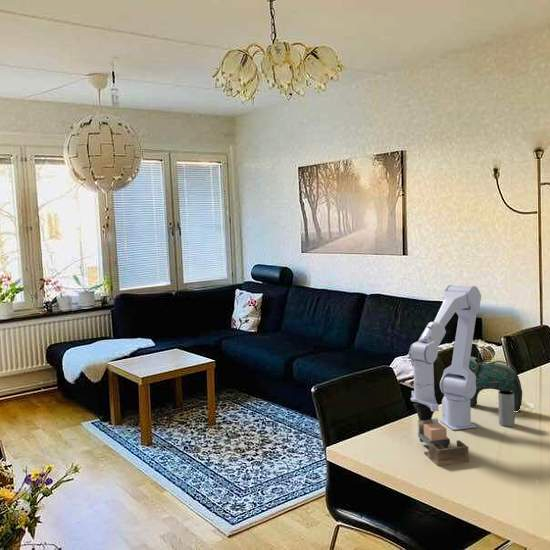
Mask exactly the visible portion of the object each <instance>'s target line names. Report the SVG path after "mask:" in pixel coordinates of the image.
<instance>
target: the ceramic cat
mask: <svg viewBox="0 0 550 550" xmlns="http://www.w3.org/2000/svg"><path fill="white" fill-rule="evenodd" d="M481 352H485V353H487V354H488V355H490V352H489V351H488V350H486V349H481V350H479V351H478V354H477V355H478V358H477V357H475V356H470V362H469V369H470V370H471V371H472V372H473V373H474V374H475V376H476V392H475V395H474V396H473V397H472V398H471V399H470V406H472V407H471V408H474V407H473V406H475V407H476V406H477V405H478V397H479V396H478V395H479V394H480V392H481V391H483V390H497V391H498V392H499V391H501V390H509V391H512V392H514V411H518V410H519V409H520V406H521V407H522V403H523V402H522V401H523V389H522V383H521V380H520V377H519V375H518V372H517V370H516V368H515V366H513V364H512V363H509V362H506V361H503V360H495V361H490V362H484V361H482V360H481V359H480V353H481ZM502 363H503V364H502ZM476 404H477V405H476Z"/></svg>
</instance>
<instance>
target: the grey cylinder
mask: <svg viewBox="0 0 550 550" xmlns="http://www.w3.org/2000/svg"><path fill="white" fill-rule="evenodd" d="M497 393H498V397H497V398H498V424H499V425H500V426H502V427H505V428H511V427H514V426H515V420H516V419H515V412H514V392H512V391H509V390H501V391H499V390H498V391H497Z"/></svg>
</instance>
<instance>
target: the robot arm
mask: <svg viewBox="0 0 550 550" xmlns="http://www.w3.org/2000/svg"><path fill="white" fill-rule="evenodd" d="M479 289H480V288H479V287H478V286H476V285H472V286H470V285H469V286H467V285H454V284H448V285H447V286H446V287H445V288H444V290H443V292H442V303H441V305H440V308H439V309H438V312H437V314H436V316H435V318H434V320H433V321H430V322H428V324H427V325H426V327H425V328H424V330H423V331H422V333H421V335H420V337H419V339H418V341H415V342H414V343H412V344H411V345H410V347H409V351H408V357H409V359H410V361H411V366H412V367H413V389H414V390H411V397H410V401H411V402H414V403H413V404H412V406H413V408H414V409H415V411H416V413H417V417H418V420H427V419H433V415H434V413H435V412H439V408H440V407H439V403H437V400H436V396H435V376H434V374H435V373H434V371H435V370H434V368H435V367H434V363H435V361H436V360H437V358H438V356H439V348H440V347H439V346H440V344H441V343H442V340H443V339H444V337H445V335H446V333H447V331H446V326H447V324H448V323H449V321H450V320H451V319H452V317H453V316H454V315H455V313H456V314H457V315H456V316H458V319H457V326H456V333H455V339H454V345H453V353H452V360H451V364H450V365H449V366H448V367H446V368H445V369H444V370H443V373H442V376H441V379H440V381H439V389H440V391H441V393H442V394H443V397H442V399H441V415H442V416H441V417H442V418H440V419H439V421H440V422H441V423H443V424H444V425H445V426H447V428H449V429H450V430H452V431H457V430H465V429H473V428H477V425H476V424H475V423H473V422H472V418H471V417H472V416H471V415H472V414H471V410H472V409H471V407H470V399H471V398H472V397H473V396H474V395H475V392H476V376H475V374H474V373H473V372H472V371H471V370H470V369H469V362H470V357H471V353H472V347H473V339H474V333H475V328H476V327H475V326H476V319H477V314H479V313H480V307H481V301H482V294H481V292H480V290H479ZM462 376H463V377H462Z"/></svg>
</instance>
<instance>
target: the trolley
mask: <svg viewBox="0 0 550 550" xmlns="http://www.w3.org/2000/svg"><path fill="white" fill-rule="evenodd" d="M447 433H448V432H447V428H446V427H445V426H444V425H443V424H441V423H439V419H438V418H436V417H435V418H432V419H427V420H419V419H418V420H417V436H418V438H419V442H420V443H425V444H426V445H427V448H428V449H429V444H433V445H434V446H435V447H439V446H440V447H441V446H442V447H443V449H446V448H450V445H451V439H450V438H449V437H448V436H447V435H448V434H447Z"/></svg>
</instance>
